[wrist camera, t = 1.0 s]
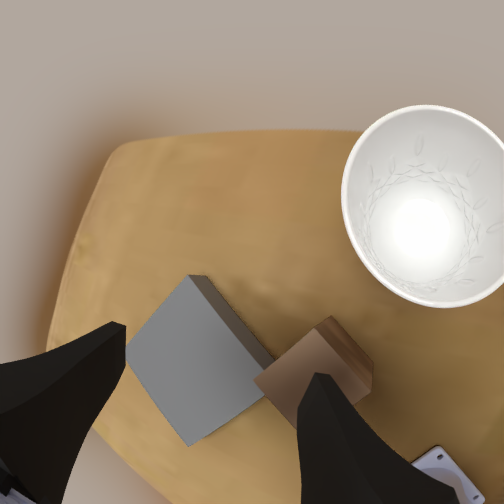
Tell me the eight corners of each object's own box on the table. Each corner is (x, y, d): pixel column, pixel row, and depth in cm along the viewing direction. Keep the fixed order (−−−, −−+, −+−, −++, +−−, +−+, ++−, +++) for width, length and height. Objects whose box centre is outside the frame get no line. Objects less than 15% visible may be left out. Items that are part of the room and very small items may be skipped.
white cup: (390, 317, 19) (402, 348, 9) (337, 215, 21) (303, 161, 12) (483, 259, 16) (557, 240, 7) (428, 162, 18) (453, 78, 9)
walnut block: (373, 362, 19) (371, 391, 13) (324, 401, 20) (304, 438, 14) (331, 315, 20) (313, 327, 15) (284, 356, 21) (252, 379, 16)
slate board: (288, 375, 21) (277, 386, 18) (204, 435, 23) (188, 447, 21) (205, 275, 24) (187, 274, 22) (140, 348, 26) (121, 351, 24)
